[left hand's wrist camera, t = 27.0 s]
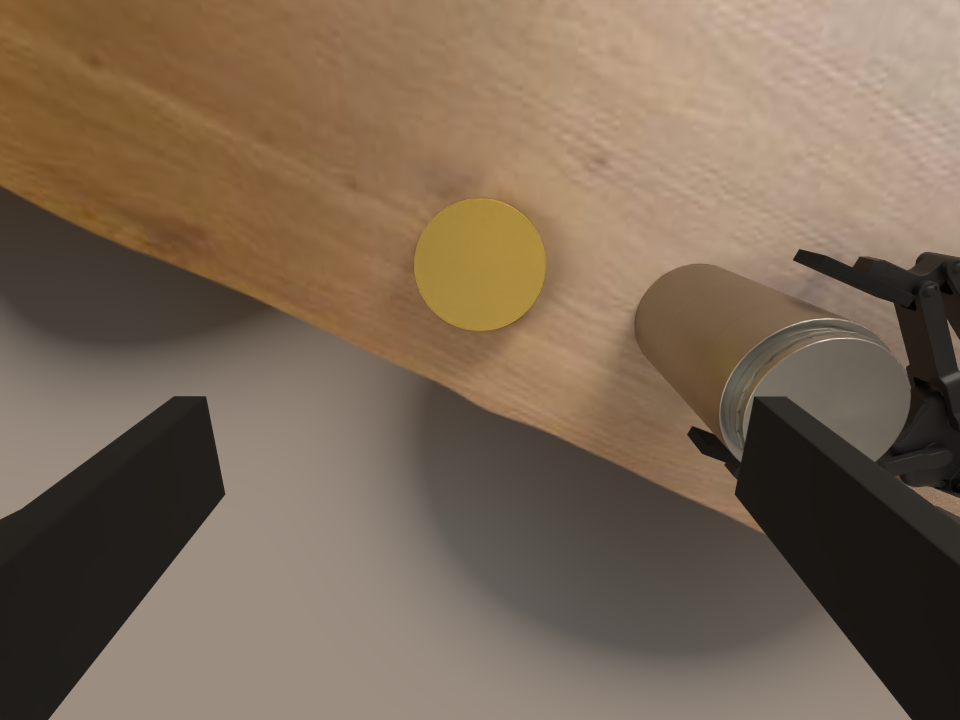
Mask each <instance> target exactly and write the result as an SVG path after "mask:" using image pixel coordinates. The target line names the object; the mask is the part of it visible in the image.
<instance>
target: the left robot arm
mask: <svg viewBox="0 0 960 720" xmlns="http://www.w3.org/2000/svg"><path fill="white" fill-rule="evenodd" d="M224 495H225V490H224V486H223V480H222V475H221V471H220V465H219V460H218V455H217V450H216V445H215V440H214V435H213V430H212V425H211V419H210V414H209V409H208V404H207V399H206V397H205V396H174V397H173V398H171V399H170V400H168V401H167V402H166V403H164V404H163V405H162V406H160V407H159V408H158V409H156V410H155V411H154V412H152V413H151V414H150V415H148V416H147V417H145V418H144V419H143V420H141V421H140V422H139V423H137V424H136V425H135V426H133V427H132V428H131V429H129V430H128V431H126V432H125V433H124V434H122V435H121V436H120V437H118V438H117V439H116V440H114V441H113V442H112V443H110V444H109V445H107V446H106V447H105V448H103V449H102V450H101V451H99V452H98V453H97V454H95V455H94V456H93V457H91V458H90V459H89V460H87V461H86V462H84V463H83V464H82V465H80V466H79V467H78V468H76V469H75V470H74V471H72V472H71V473H70V474H68V475H67V476H66V477H64V478H63V479H61V480H60V481H59V482H57V483H56V484H55V485H53V486H52V487H51V488H49V489H48V490H47V491H45V492H44V493H42V494H41V495H40V496H38V497H37V498H36V499H34V500H33V501H32V502H30V503H29V504H28V505H26V506H25V507H24V508H22V509H21V510H19V511H16V512H15V513H12V514H10V515H8V516H6V517H5V518H2V519H0V720H48V719H49V718H50V717H51V715H52V714H53V713H54V712H55V710H56V709H57V708H58V706H59V705H60V704H61V703H62V701H63V700H64V699H65V698H66V696H67V695H68V694H69V692H70V691H71V690H72V689H73V687H74V686H75V685H76V684H77V682H78V681H79V680H80V678H81V677H82V676H83V675H84V673H85V672H86V671H87V670H88V668H89V667H90V666H91V664H92V663H93V662H94V661H95V659H96V658H97V657H98V656H99V654H100V653H101V652H102V650H103V649H104V648H105V647H106V645H107V644H108V643H109V642H110V640H111V639H112V638H113V637H114V635H115V634H116V633H117V631H118V630H119V629H120V628H121V626H122V625H123V624H124V623H125V621H126V620H127V619H128V617H129V616H130V615H131V614H132V612H133V611H134V610H135V609H136V607H137V606H138V605H139V603H140V602H141V601H142V600H143V598H144V597H145V596H146V594H147V593H148V592H149V591H150V589H151V588H152V587H153V586H154V584H155V583H156V582H157V580H158V579H159V578H160V577H161V575H162V574H163V573H164V572H165V570H166V569H167V568H168V567H169V565H170V564H171V563H172V561H173V560H174V559H175V558H176V556H177V555H178V554H179V553H180V551H181V550H182V549H183V548H184V546H185V545H186V544H187V542H188V541H189V540H190V539H191V537H192V536H193V535H194V534H195V532H196V531H197V530H198V528H199V527H200V526H201V525H202V523H203V522H204V521H205V520H206V518H207V517H208V516H209V514H210V513H211V512H212V511H213V509H214V508H215V507H216V506H217V504H218V503H219V502H220V500H221V499H222V498H223V497H224ZM735 495H736V497H737V498H738V499H739V500H740V502H741V503H742V504H743V506H744V507H745V508H746V509H747V511H748V512H749V513H750V514H751V516H752V517H753V518H754V520H755V521H756V522H757V523H758V525H759V526H760V527H761V528H762V530H763V531H764V532H765V534H766V535H767V536H768V537H769V539H770V540H771V541H772V542H773V544H774V545H775V546H776V548H777V549H778V550H779V551H780V553H781V554H782V555H783V556H784V558H785V559H786V560H787V561H788V563H789V564H790V565H791V567H792V568H793V569H794V570H795V572H796V573H797V574H798V575H799V577H800V578H801V579H802V581H803V582H804V583H805V584H806V586H807V587H808V588H809V589H810V591H811V592H812V593H813V595H814V596H815V597H816V598H817V600H818V601H819V602H820V603H821V605H822V606H823V607H824V609H825V610H826V611H827V612H828V614H829V615H830V616H831V617H832V619H833V620H834V621H835V623H836V624H837V625H838V626H839V628H840V629H841V630H842V631H843V633H844V634H845V635H846V636H847V638H848V639H849V640H850V642H851V643H852V644H853V645H854V647H855V648H856V649H857V651H858V652H859V653H860V654H861V656H862V657H863V658H864V659H865V661H866V662H867V663H868V665H869V666H870V667H871V668H872V670H873V671H874V672H875V673H876V675H877V676H878V677H879V678H880V680H881V681H882V682H883V684H884V685H885V686H886V687H887V689H888V690H889V691H890V693H891V694H892V695H893V696H894V698H895V699H896V700H897V701H898V703H899V704H900V705H901V706H902V708H903V709H904V710H905V712H906V713H907V714H908V715H909V717H910V718H911V719H912V720H960V517H958V516H956V515H954V514H952V513H950V512H948V511H946V510H944V509H942V508H940V507H938V506H934V505H932V504H931V503H930V502H928V501H927V500H926V499H924V498H923V497H922V496H920V495H919V494H918V493H916V492H915V491H913V490H912V489H911V488H909V487H908V486H907V485H905V484H904V483H903V482H901V481H900V480H899V479H897V478H896V477H894V476H893V475H892V474H890V473H889V472H888V471H886V470H885V469H884V468H882V467H881V466H880V465H878V464H877V463H876V462H874V461H873V460H871V459H870V458H869V457H867V456H866V455H865V454H863V453H862V452H861V451H859V450H858V449H857V448H855V447H854V446H853V445H851V444H850V443H848V442H847V441H846V440H844V439H843V438H842V437H840V436H839V435H838V434H836V433H835V432H834V431H832V430H831V429H829V428H828V427H827V426H825V425H824V424H823V423H821V422H820V421H819V420H817V419H816V418H815V417H813V416H812V415H811V414H809V413H808V412H806V411H805V410H804V409H802V408H801V407H800V406H798V405H797V404H796V403H794V402H793V401H792V400H790V399H789V398H788V397H786V396H754V399H753V404H752V409H751V414H750V419H749V425H748V430H747V435H746V440H745V445H744V450H743V455H742V460H741V465H740V470H739V475H738V480H737V485H736V490H735Z"/></svg>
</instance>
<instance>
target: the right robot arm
mask: <svg viewBox="0 0 960 720" xmlns="http://www.w3.org/2000/svg"><path fill="white" fill-rule="evenodd" d="M793 260H794V261H796V262H798V263H800V264H803V265H805V266H807V267H809V268H812V269H814V270H816V271H819V272H821V273H823V274H825V275H828V276H830V277H832V278H834V279H837V280H839V281H841V282H843V283H846V284H848V285H850V286H852V287H855V288H857V289H859V290H862V291H864V292H866V293H868V294H871V295H873V296H875V297H878V298H881V299H884V300H887V301H890V302H893V303H894V305H895V309H896V313H897V317H898V321H899V325H900V329H901V332H902V336H903V340H904V344H905V348H906V352H907V355H908V359H909V363H910V365H909V366H907V367H906V370H907V374H908V378H909V382H910V386H911V388H910V390H911V402H910V409H909V413H908V417H907V419H906V422H905V425H904V427H903V429H902V431H901V432H900V434H899V436H898V437H897V439H896V440H895V442H894V443H893V444H892V445H891V447H890V448H889V449H888V450H887V451H886V452H885V453H884V454H883V455H882V456H881V457H880V458H879V459H878V460H877V461H875V462H876V463H877V464H878V465H880V466H881V467H882V468H884V469H885V470H886V471H888V472H889V473H890V474H892V475H893V476H894V477H896V478H897V479H899V480H900V481H901V482H903V483H904V484H905V485H907V486H908V487H909V488H911V489H912V488H913V487H923V486H928V487H933V488H935V489H938V490H940V491H943V492H945V493H948V494H950V495H953V496H956V497H958V498H960V371H959V370H958V367H957V363H956V358H955V354H954V350H953V345H952V341H951V336H950V332H949V328H948V323H947V319H948V321H949V323H950V325H951V326H952V328H953V330H954V331H955V333H956V335H957V336H958V338H959V339H960V257H954V256H949V255H943V254H938V253H932V252H924V253H923V254H921V255H920V256H919V257H918V258H917V260H916V265H915V266H914V267H913V268H912V269H910V270H908V271H907V270H905V269H902V268H900V267H898V266H896V265H894V264H891V263H889V262H887V261H885V260H881V259H876V258H872V257H859V258H858V260H857V261H856V263H855V265H854V266H853V268H852V267H850V266H848V265H846V264H843V263H841V262H839V261H837V260H834V259H832V258H830V257H828V256H825V255H821V254H817V253H813V252H809V251H805V250H801V249H799V251H798V252H797V254H796V256H795V257H794V259H793ZM946 318H947V319H946ZM687 435H688V436H689V438H690V439H691V440H692V441H693V443H694V444H695V445H696V447H697V448H698V449H699V450H700V452H701V453H702V454H704V455H707V456H710V457H712V458H715V459H718V460H720V461H723V462H726V463H725V466H726V468H727V469H728V470H729V471H730V472H731V474H732V475H733V476H734V477H735V478H736V479H737V480H738V475H739V470H740V465H741V462H740V461H739V460H737V459H736V458H735V457H734V455H733V454H732V453H731V452H730V451H729V450H728V449H727V448H726V446H725V445H724V444H723V443H722V442H721V441H720V440H719V439H718V437H717V436H716V435H714V434H712V433H709V432H706V431H704V430H701V429H699V428H696V427H693V426H692V427H691V429H690V431H689V432H688V434H687Z"/></svg>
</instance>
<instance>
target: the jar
mask: <svg viewBox="0 0 960 720" xmlns="http://www.w3.org/2000/svg"><path fill="white" fill-rule="evenodd" d="M635 335H636V339H637V343H638V345H639V347H640V349H641V351H642V352H643V354H644V355H645V356H646V358H647V359H648V360H649V361H650V362H651V363H652V364H653V366H654V367H655V368H656V369H657V370H658V371H659V372H660V373H661V375H662V376H663V377H664V378H665V379H666V380H667V381H668V382H669V384H670V385H671V386H672V387H673V388H674V389H675V390H676V391H677V392H678V394H679V395H680V396H681V397H682V398H683V399H684V400H685V401H686V403H687V404H688V405H689V406H690V407H691V408H692V409H693V410H694V412H695V413H696V414H697V415H698V416H699V417H700V418H701V419H702V421H703V422H704V423H705V424H706V425H707V426H708V427H709V428H710V430H711V431H712V432H713V433H714V434H715V435H716V436H717V437H718V439H719V440H720V441H721V442H722V443H723V444H724V445H725V446H726V448H727V449H728V450H729V451H730V452H731V453H732V454H733V455H734V457H735V458H736V459H737V460H739V461H740V462H741V460H742V455H743V450H744V445H745V440H746V435H747V430H748V425H749V419H750V414H751V409H752V404H753V399H754V396H786V397H788V398H789V399H790V400H792V401H793V402H794V403H796V404H797V405H798V406H800V407H801V408H802V409H804V410H805V411H806V412H808V413H809V414H811V415H812V416H813V417H815V418H816V419H817V420H819V421H820V422H821V423H823V424H824V425H825V426H827V427H828V428H829V429H831V430H832V431H834V432H835V433H836V434H838V435H839V436H840V437H842V438H843V439H844V440H846V441H847V442H848V443H850V444H851V445H853V446H854V447H855V448H857V449H858V450H859V451H861V452H862V453H863V454H865V455H866V456H867V457H869V458H870V459H871V460H873V461H874V462H875V461H877V460H878V459H879V458H880V457H881V456H882V455H883V454H884V453H885V452H886V451H887V450H888V449H889V448H890V447H891V445H892V444H893V443H894V442H895V440H896V439H897V437H898V436H899V434H900V432H901V431H902V429H903V427H904V425H905V422H906V419H907V417H908V413H909V409H910V402H911V390H910V383H909V379H908V376H907V374H906V372H905V369H904V368H903V366H902V365H901V363H900V362H899V360H898V359H897V358H896V357H895V356H894V355H893V354H892V353H891V351H890V349H889V348H888V346H887V345H886V344H885V342H884V341H883V340H882V339H881V338H880V337H879V336H878V335H877V334H875V333H874V332H872V331H871V330H870V329H868V328H866V327H864V326H862V325H860V324H858V323H855V322H853V321H850V320H848V319H845V318H843V317H840V316H838V315H836V314H833V313H831V312H828V311H826V310H823V309H821V308H818V307H816V306H813V305H811V304H808V303H806V302H803V301H801V300H799V299H796V298H794V297H791V296H789V295H786V294H784V293H781V292H779V291H776V290H774V289H771V288H769V287H766V286H764V285H762V284H759V283H757V282H754V281H752V280H749V279H747V278H744V277H742V276H739V275H737V274H734V273H732V272H729V271H727V270H725V269H722V268H719V267H716V266H713V265H708V264H692V265H687V266H682V267H680V268H677V269H674V270H672V271H670V272H668V273H667V274H665V275H663V276H662V277H661V278H659V279H658V280H657V281H656V282H655V283H654V284H653V285H652V286H651V287H650V288H649V289H648V291H647V292H646V293H645V295H644V296H643V298H642V300H641V302H640V304H639V306H638V310H637V313H636V318H635Z"/></svg>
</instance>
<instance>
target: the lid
mask: <svg viewBox="0 0 960 720" xmlns="http://www.w3.org/2000/svg"><path fill="white" fill-rule="evenodd" d="M545 272H546V257H545V251H544V247H543V244H542V241H541V239H540V237H539V234H538V233H537V231H536V229H535V228H534V226H533V225H532V224H531V223H530V221H529V220H528V219H527V218H526V217H525V216H524V215H523V214H522V213H521V212H519V211H518V210H517V209H515V208H514V207H512V206H510V205H508V204H506V203H504V202H501V201H498V200H494V199H490V198H471V199H466V200H462V201H459V202H456V203H454V204H452V205H450V206H448V207H446V208H445V209H443V210H442V211H441V212H439V213H438V214H437V215H436V216H435V217H434V218H433V219H432V220H431V221H430V223H429V224H428V225H427V226H426V228H425V229H424V231H423V233H422V234H421V236H420V239H419V241H418V244H417V247H416V251H415V257H414V273H415V279H416V283H417V286H418V289H419V292H420V294H421V296H422V297H423V299H424V301H425V302H426V304H427V305H428V306H429V308H430V309H431V310H432V311H433V312H434V313H435V314H436V315H438V316H439V317H440V318H441V319H443V320H444V321H446V322H447V323H449V324H451V325H453V326H456V327H459V328H462V329H466V330H471V331H489V330H494V329H498V328H501V327H504V326H506V325H509V324H511V323H513V322H514V321H516V320H517V319H519V318H520V317H521V316H522V315H524V314H525V313H526V312H527V311H528V310H529V309H530V308H531V306H532V305H533V304H534V302H535V301H536V299H537V297H538V295H539V294H540V291H541V289H542V286H543V283H544V279H545Z"/></svg>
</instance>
